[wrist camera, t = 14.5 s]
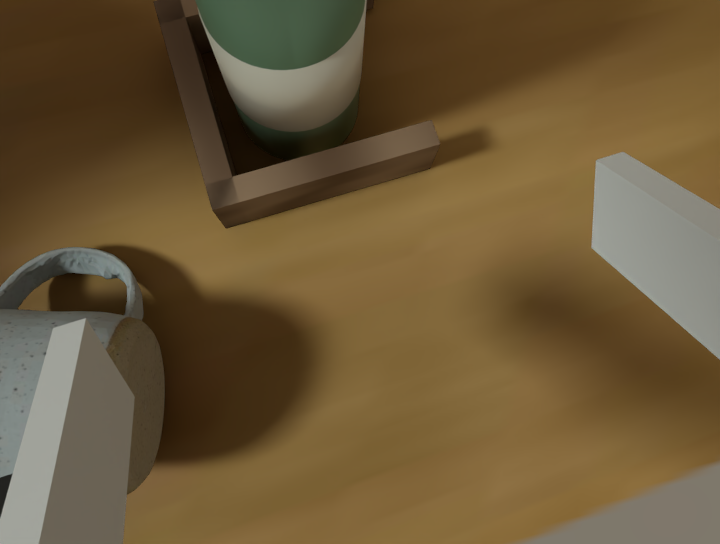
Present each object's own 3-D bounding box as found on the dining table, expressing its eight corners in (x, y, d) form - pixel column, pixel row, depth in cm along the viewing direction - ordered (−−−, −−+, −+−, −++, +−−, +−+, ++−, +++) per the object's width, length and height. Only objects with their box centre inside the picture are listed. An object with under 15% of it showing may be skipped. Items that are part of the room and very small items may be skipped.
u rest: (225, 228, 28) (212, 210, 25) (171, 39, 30) (153, 1, 27) (430, 168, 29) (440, 144, 26) (366, -12, 31) (368, -54, 28)
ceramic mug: (172, 486, 26) (103, 523, 18) (-18, 494, 25) (-167, 536, 18) (178, 252, 28) (118, 200, 20) (2, 257, 28) (-124, 206, 20)
